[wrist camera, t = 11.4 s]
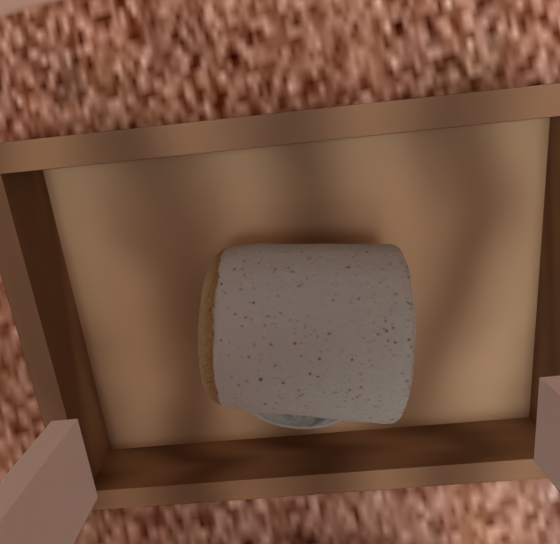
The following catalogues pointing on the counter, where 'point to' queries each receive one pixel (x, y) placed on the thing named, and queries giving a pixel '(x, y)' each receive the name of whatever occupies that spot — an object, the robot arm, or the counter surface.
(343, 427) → the tray
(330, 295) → the ceramic mug
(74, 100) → the counter surface
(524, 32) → the counter surface
